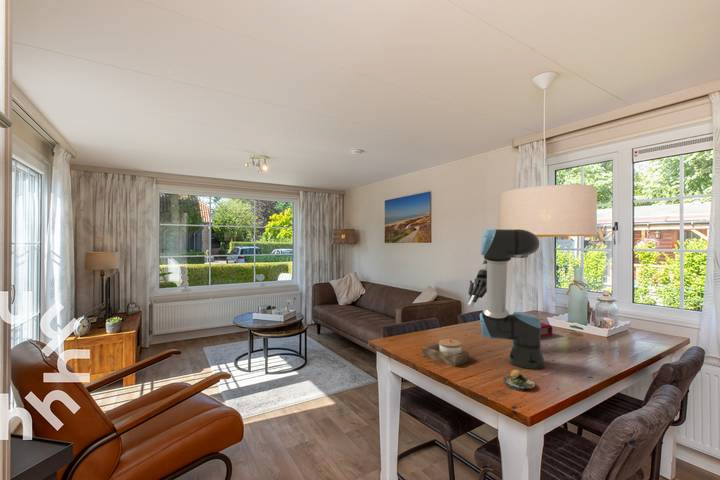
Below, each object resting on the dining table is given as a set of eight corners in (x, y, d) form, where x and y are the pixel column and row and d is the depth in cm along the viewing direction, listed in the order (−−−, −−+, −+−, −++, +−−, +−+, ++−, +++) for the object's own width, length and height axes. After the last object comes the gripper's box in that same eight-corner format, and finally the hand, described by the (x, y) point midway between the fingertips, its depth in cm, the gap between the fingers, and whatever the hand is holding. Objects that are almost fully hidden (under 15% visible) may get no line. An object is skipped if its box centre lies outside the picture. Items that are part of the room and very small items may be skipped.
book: (514, 325, 227) (514, 314, 227) (552, 336, 202) (552, 323, 202) (491, 328, 219) (491, 317, 219) (528, 340, 193) (528, 327, 193)
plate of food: (526, 395, 124) (526, 375, 124) (497, 384, 133) (497, 365, 133) (541, 387, 131) (541, 368, 131) (513, 377, 140) (513, 359, 140)
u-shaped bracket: (468, 360, 158) (469, 352, 159) (455, 366, 151) (455, 358, 151) (436, 350, 173) (436, 343, 173) (421, 355, 165) (421, 347, 165)
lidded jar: (464, 362, 157) (464, 342, 157) (441, 361, 157) (441, 342, 157) (457, 354, 167) (458, 335, 167) (436, 354, 168) (436, 335, 168)
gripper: (498, 279, 185) (483, 312, 174) (477, 277, 195) (461, 308, 184) (494, 269, 182) (478, 303, 170) (472, 268, 192) (456, 300, 180)
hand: (469, 306), depth 177 cm, fingers closed
